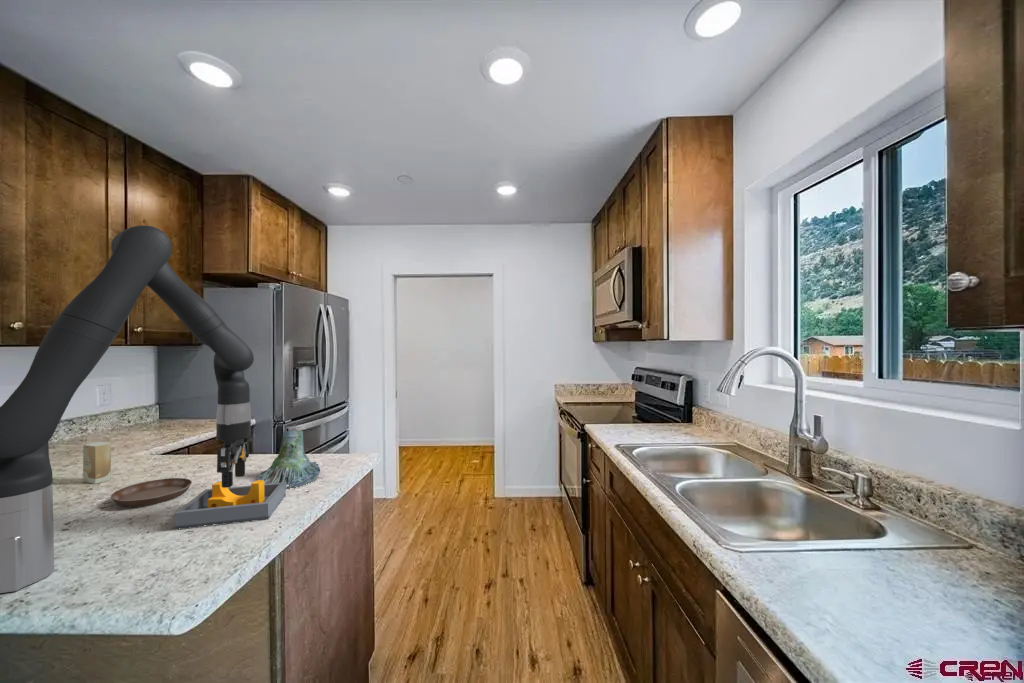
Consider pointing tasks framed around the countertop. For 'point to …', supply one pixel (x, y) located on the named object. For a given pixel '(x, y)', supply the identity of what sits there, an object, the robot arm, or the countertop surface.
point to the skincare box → (96, 462)
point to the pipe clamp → (229, 499)
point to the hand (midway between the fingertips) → (233, 481)
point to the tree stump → (291, 463)
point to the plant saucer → (151, 492)
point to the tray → (229, 508)
